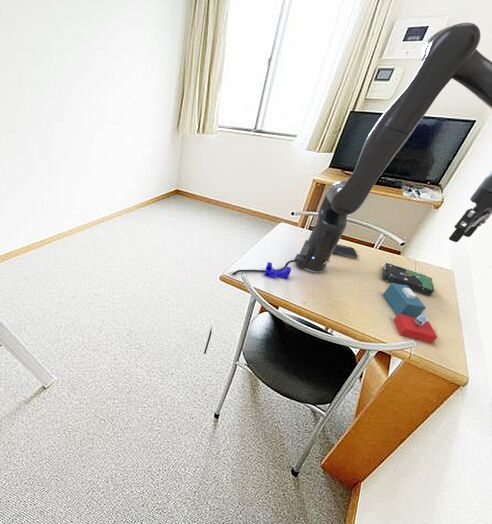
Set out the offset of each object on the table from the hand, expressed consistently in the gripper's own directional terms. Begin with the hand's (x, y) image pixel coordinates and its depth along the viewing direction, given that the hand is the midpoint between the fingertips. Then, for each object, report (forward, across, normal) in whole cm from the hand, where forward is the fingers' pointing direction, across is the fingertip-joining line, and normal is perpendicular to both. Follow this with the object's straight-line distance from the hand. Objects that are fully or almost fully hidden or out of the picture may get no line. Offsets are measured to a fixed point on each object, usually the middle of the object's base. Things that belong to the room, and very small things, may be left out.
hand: (459, 238), depth 94 cm
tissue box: (+23, +14, +1) cm, 27 cm away
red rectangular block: (+24, +22, +9) cm, 33 cm away
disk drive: (+23, -5, -6) cm, 25 cm away
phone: (+23, +1, -31) cm, 39 cm away
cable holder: (+24, +40, -28) cm, 54 cm away
